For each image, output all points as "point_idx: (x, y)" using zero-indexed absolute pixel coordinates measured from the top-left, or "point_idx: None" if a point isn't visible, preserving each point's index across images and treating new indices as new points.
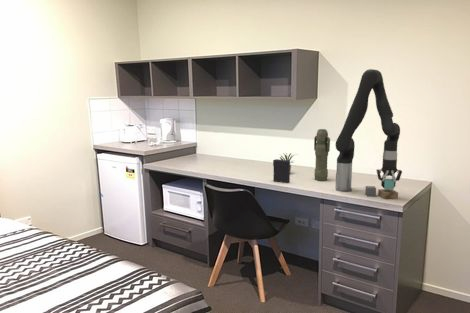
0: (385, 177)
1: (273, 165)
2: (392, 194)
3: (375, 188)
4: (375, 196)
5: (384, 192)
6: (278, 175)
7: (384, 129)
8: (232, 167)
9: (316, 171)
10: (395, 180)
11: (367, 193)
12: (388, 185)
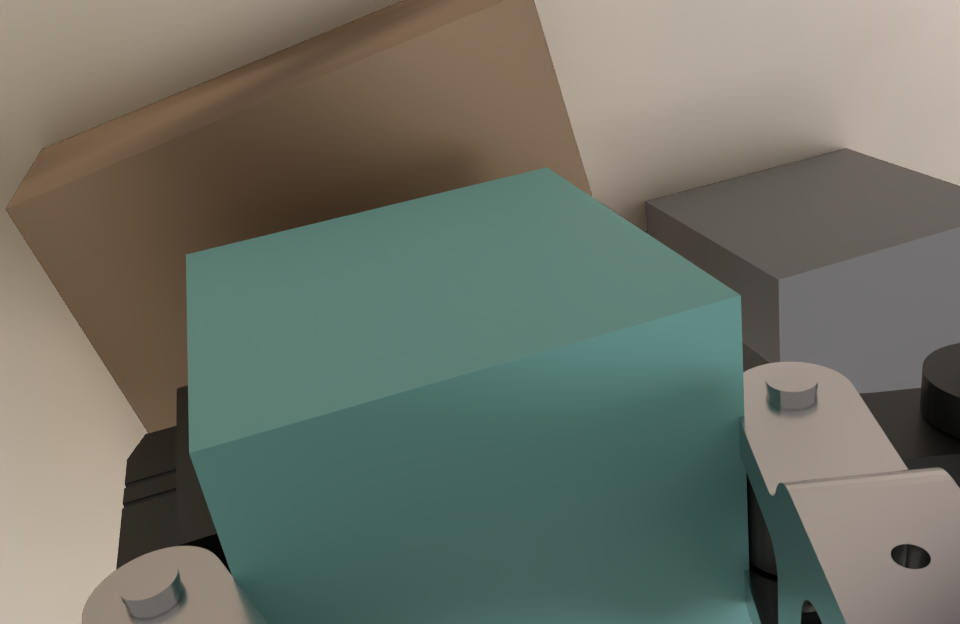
0: (814, 480)
1: None
2: (217, 109)
3: (797, 269)
4: (654, 199)
5: (513, 46)
6: None
7: None
8: None
9: None
10: (118, 603)
11: (888, 169)
12: (450, 250)
